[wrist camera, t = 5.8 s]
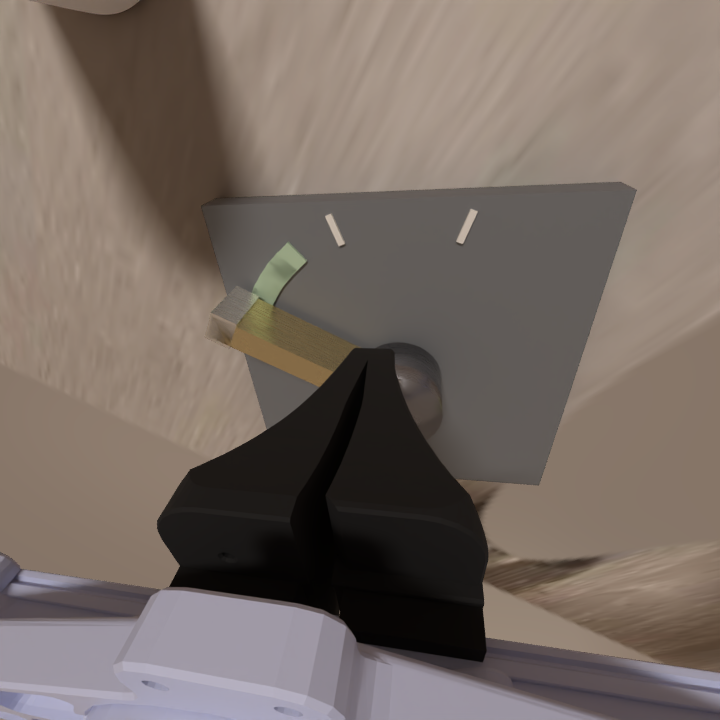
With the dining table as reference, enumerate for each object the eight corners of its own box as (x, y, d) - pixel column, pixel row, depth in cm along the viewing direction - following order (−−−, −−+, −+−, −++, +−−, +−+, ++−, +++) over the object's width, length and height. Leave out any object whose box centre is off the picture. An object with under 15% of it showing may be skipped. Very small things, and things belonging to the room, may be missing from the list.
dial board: (620, 182, 15) (638, 190, 14) (533, 466, 26) (539, 487, 24) (215, 198, 18) (199, 206, 17) (283, 449, 29) (276, 466, 27)
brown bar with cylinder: (243, 260, 18) (215, 287, 15) (457, 365, 20) (461, 404, 17) (224, 329, 20) (197, 361, 18) (414, 417, 22) (412, 457, 20)
